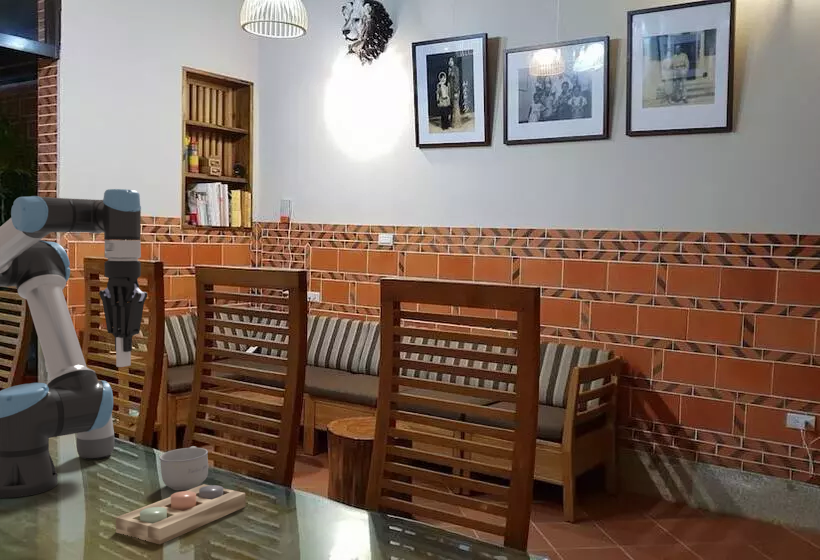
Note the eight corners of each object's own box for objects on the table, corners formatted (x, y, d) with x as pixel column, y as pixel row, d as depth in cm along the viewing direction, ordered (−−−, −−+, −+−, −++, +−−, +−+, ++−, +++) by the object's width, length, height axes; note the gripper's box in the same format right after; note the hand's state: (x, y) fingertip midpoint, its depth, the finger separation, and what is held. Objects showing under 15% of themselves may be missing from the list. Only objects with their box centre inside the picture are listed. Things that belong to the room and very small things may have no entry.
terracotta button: (165, 510, 157) (165, 496, 157) (183, 503, 161) (183, 489, 161) (183, 515, 154) (183, 500, 154) (201, 507, 159) (201, 493, 159)
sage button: (134, 528, 150) (134, 513, 150) (154, 520, 154) (154, 505, 154) (152, 533, 148) (152, 517, 147) (172, 524, 152) (172, 509, 152)
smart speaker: (97, 463, 197) (97, 409, 197) (68, 459, 200) (67, 406, 200) (122, 453, 206) (121, 402, 206) (93, 450, 209) (93, 399, 209)
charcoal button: (194, 504, 164) (194, 490, 164) (210, 497, 168) (210, 484, 168) (211, 508, 162) (211, 494, 161) (228, 501, 166) (228, 487, 166)
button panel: (115, 532, 150) (115, 517, 150) (203, 497, 171) (203, 484, 171) (159, 544, 145) (159, 528, 144) (245, 506, 166) (245, 493, 165)
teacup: (194, 495, 173) (194, 460, 172) (150, 492, 175) (150, 457, 174) (221, 477, 186) (221, 444, 186) (180, 474, 188) (180, 442, 188)
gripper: (88, 259, 169) (89, 365, 170) (129, 260, 163) (130, 371, 164) (116, 258, 176) (117, 361, 177) (156, 260, 170) (157, 366, 171)
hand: (123, 365), depth 171 cm, fingers closed
